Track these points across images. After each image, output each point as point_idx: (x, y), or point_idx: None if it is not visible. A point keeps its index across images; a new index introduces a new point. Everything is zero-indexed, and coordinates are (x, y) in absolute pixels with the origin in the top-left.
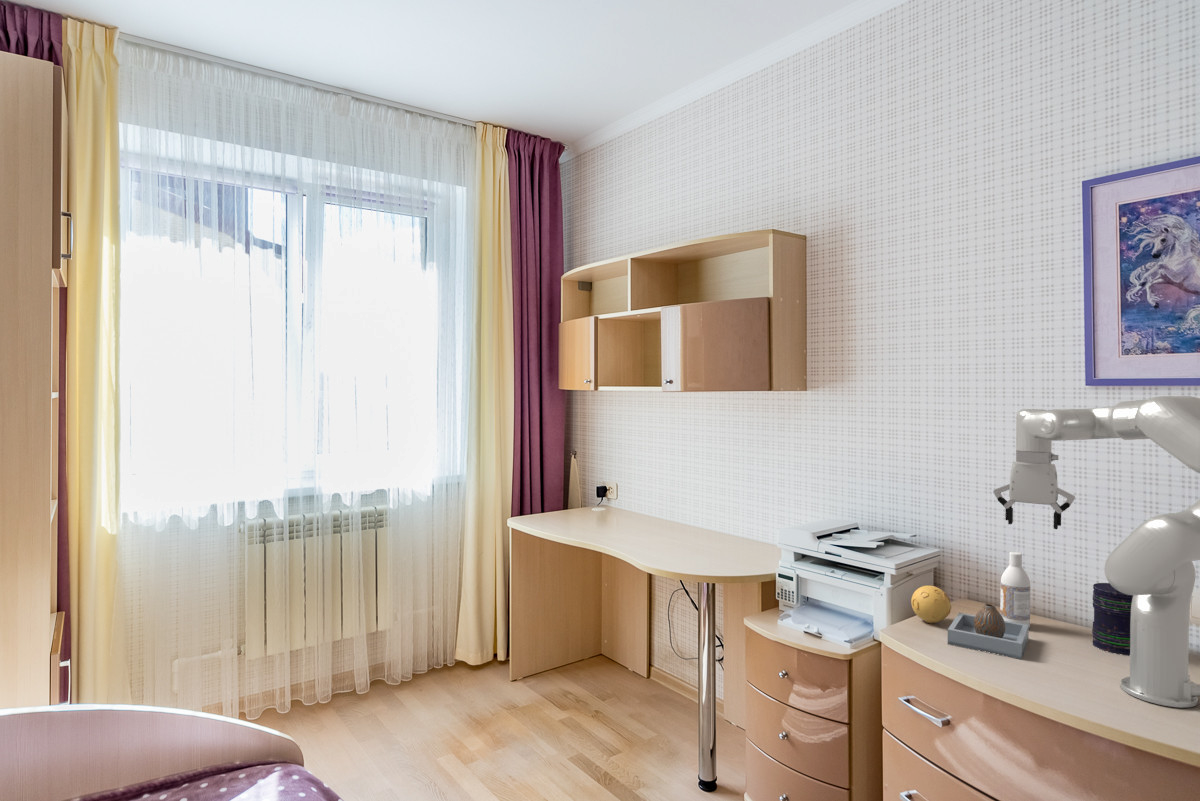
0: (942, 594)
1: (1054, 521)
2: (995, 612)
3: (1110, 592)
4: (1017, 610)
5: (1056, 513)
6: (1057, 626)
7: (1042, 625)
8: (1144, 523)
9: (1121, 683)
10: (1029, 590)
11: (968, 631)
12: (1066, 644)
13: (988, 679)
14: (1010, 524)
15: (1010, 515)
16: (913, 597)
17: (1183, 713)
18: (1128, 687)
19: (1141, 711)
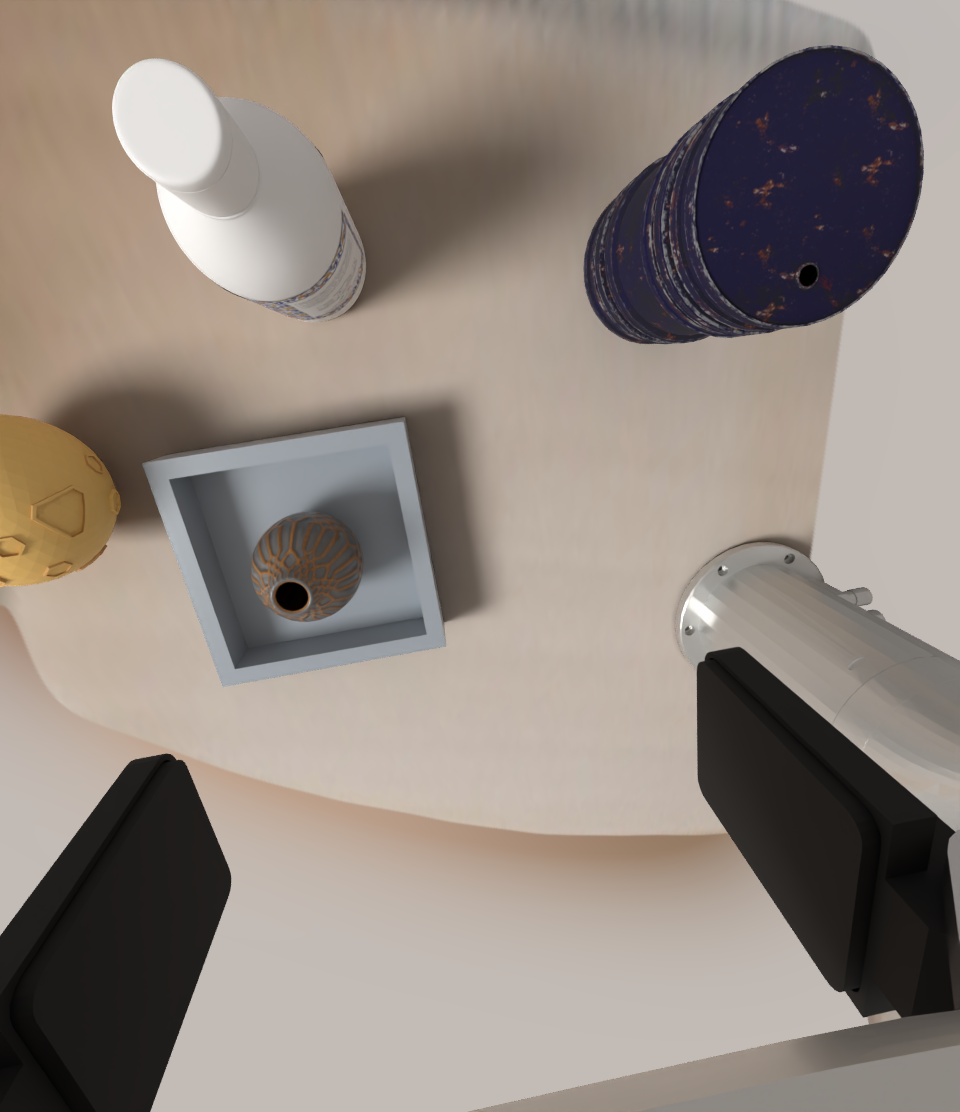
0: (40, 529)
1: (762, 866)
2: (325, 600)
3: (771, 325)
4: (323, 310)
5: (888, 1009)
6: (441, 121)
7: (390, 159)
8: None
9: (681, 643)
10: (345, 228)
11: (234, 524)
12: (514, 365)
13: (424, 802)
14: (221, 872)
15: (172, 1029)
16: None
17: None
18: (696, 659)
19: None
